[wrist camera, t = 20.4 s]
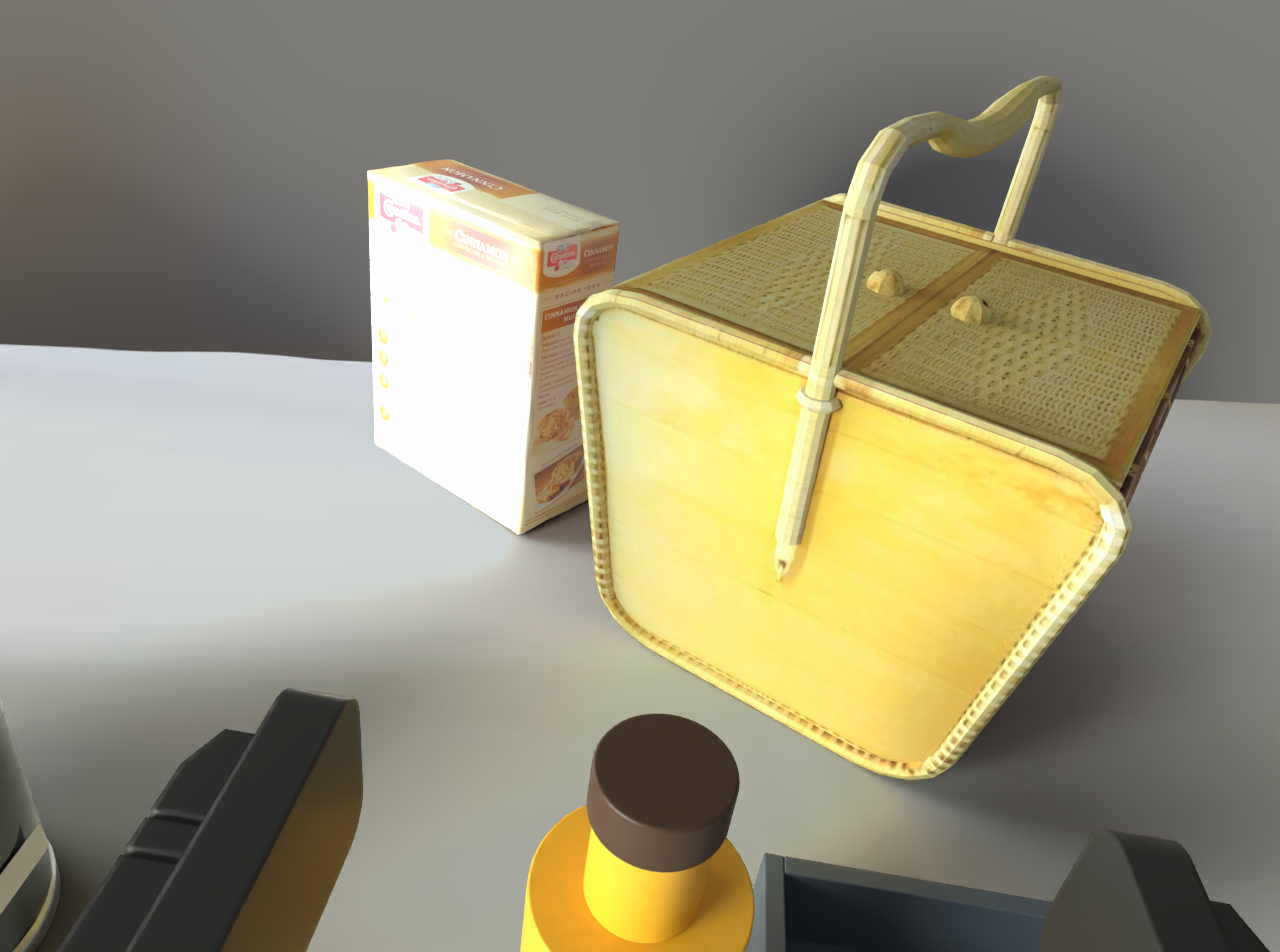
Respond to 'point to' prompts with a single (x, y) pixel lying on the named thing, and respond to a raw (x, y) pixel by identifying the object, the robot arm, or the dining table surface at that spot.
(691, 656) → the picnic basket
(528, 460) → the coffeecake box
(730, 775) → the bottle
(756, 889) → the tub
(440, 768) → the dining table surface
